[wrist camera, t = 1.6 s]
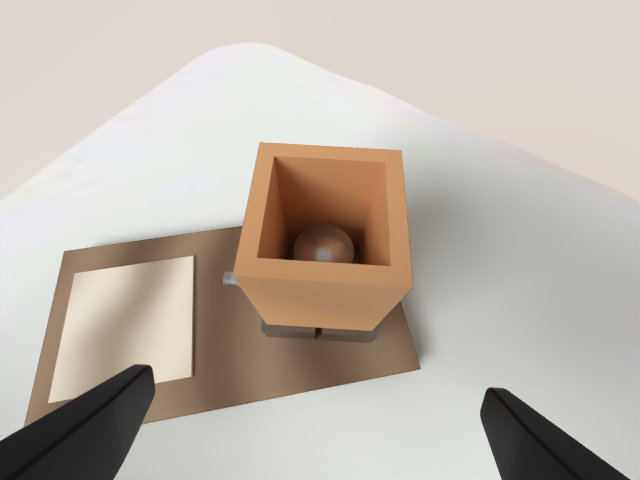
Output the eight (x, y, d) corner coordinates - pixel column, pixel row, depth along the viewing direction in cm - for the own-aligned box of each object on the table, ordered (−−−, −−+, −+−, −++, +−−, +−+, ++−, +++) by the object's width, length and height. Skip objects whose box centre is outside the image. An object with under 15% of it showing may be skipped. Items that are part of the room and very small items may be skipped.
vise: (369, 343, 19) (393, 322, 13) (220, 333, 19) (179, 308, 13) (368, 249, 22) (387, 199, 16) (238, 242, 22) (212, 188, 16)
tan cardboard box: (371, 331, 17) (413, 287, 10) (266, 324, 17) (232, 276, 10) (369, 237, 20) (401, 150, 13) (279, 232, 20) (259, 142, 13)
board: (369, 217, 25) (372, 206, 24) (413, 370, 20) (421, 368, 18) (78, 259, 23) (62, 250, 21) (41, 444, 18) (15, 449, 16)
